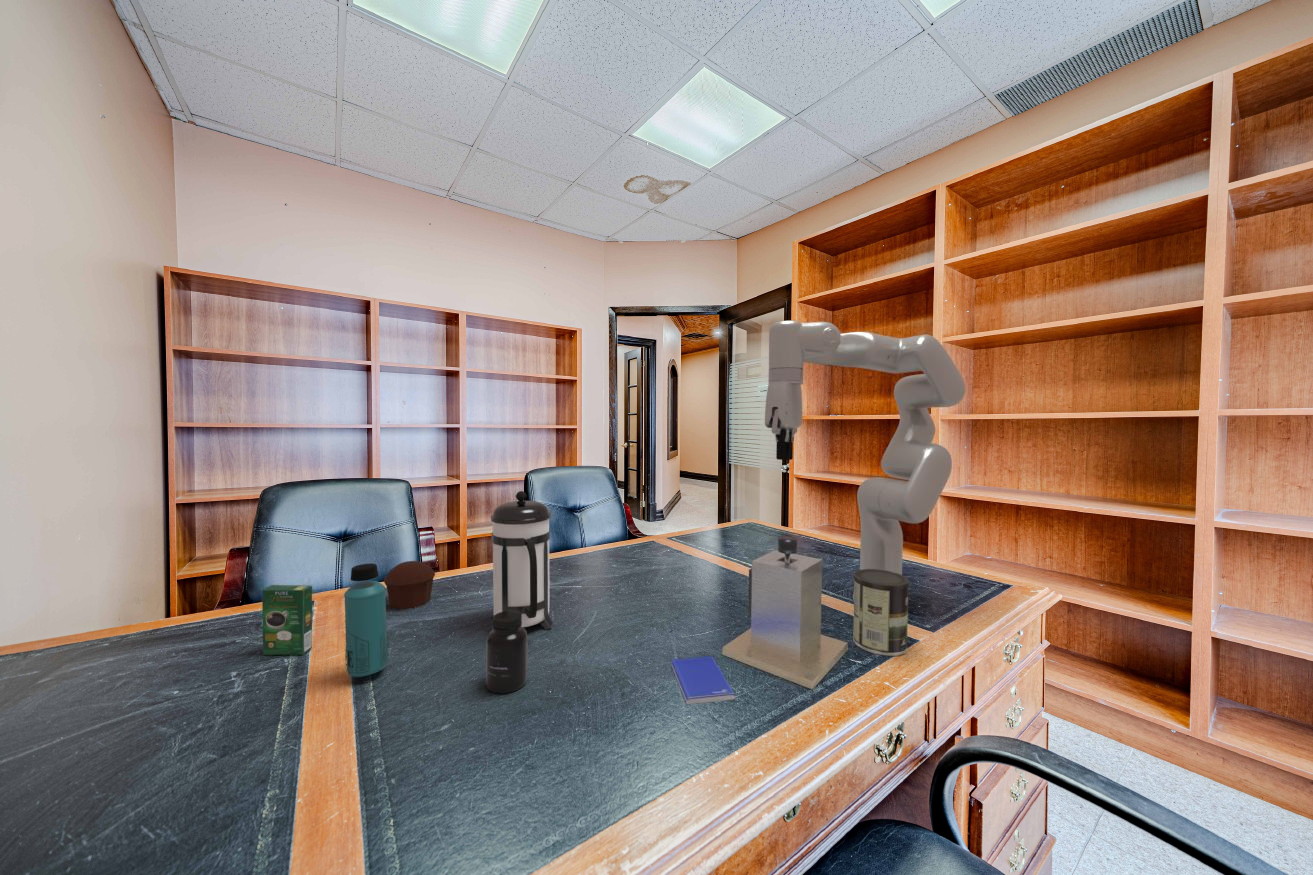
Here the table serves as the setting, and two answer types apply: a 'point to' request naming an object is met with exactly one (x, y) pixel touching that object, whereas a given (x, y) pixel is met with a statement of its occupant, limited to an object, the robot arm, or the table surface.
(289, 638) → the coffee box
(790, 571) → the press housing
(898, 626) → the coffee can
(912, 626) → the table surface
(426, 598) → the muffin
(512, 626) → the supplement bottle
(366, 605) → the beverage bottle
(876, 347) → the robot arm
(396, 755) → the table surface
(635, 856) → the table surface
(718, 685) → the hard drive
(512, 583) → the coffee press
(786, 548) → the plunger
